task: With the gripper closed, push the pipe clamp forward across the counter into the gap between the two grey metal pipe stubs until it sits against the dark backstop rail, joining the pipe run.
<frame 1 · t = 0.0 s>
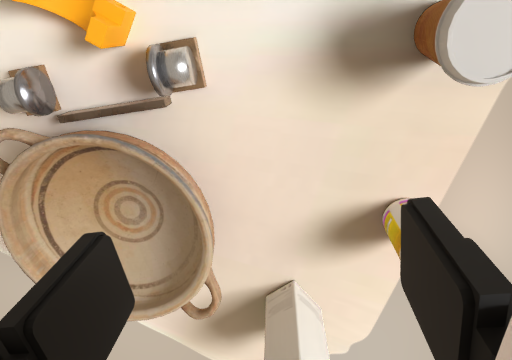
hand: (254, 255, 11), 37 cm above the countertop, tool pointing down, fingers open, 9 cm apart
skincare box: (295, 300, 60), on the countertop
supplement bottle: (404, 215, 51), on the countertop
ceramic bowl: (136, 204, 54), on the countertop
pipe run: (109, 77, 46), on the countertop
pipe clamp: (86, 4, 43), on the countertop
disposable coffee cup: (440, 30, 41), on the countertop
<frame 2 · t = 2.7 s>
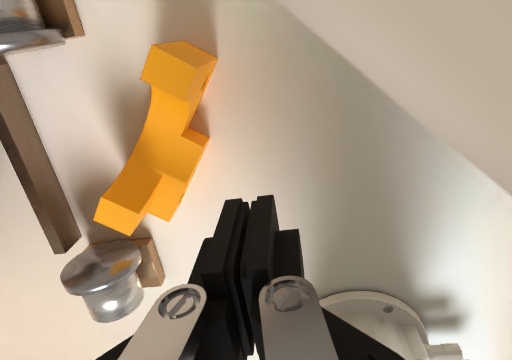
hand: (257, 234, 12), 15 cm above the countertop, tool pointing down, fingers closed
pipe run: (87, 153, 28), on the countertop
pipe clamp: (183, 128, 27), on the countertop
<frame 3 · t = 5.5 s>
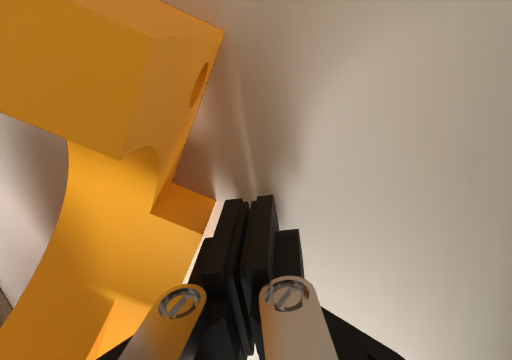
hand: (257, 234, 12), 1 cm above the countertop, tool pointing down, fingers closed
pipe clamp: (160, 184, 13), on the countertop
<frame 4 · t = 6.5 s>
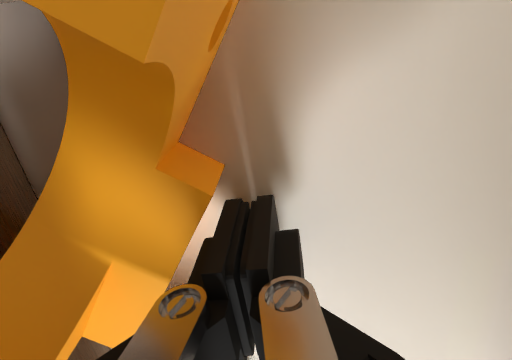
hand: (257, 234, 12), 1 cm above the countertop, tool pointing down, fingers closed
pipe run: (138, 229, 13), on the countertop
pipe clamp: (164, 145, 12), on the countertop, touching gripper, pipe run
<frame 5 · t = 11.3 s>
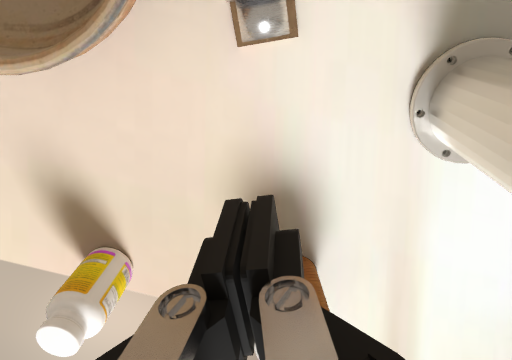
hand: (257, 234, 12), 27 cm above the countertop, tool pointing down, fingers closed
supplement bottle: (112, 263, 48), on the countertop
disposable coffee cup: (293, 272, 46), on the countertop
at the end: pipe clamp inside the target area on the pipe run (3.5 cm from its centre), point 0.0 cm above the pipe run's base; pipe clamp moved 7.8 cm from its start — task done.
